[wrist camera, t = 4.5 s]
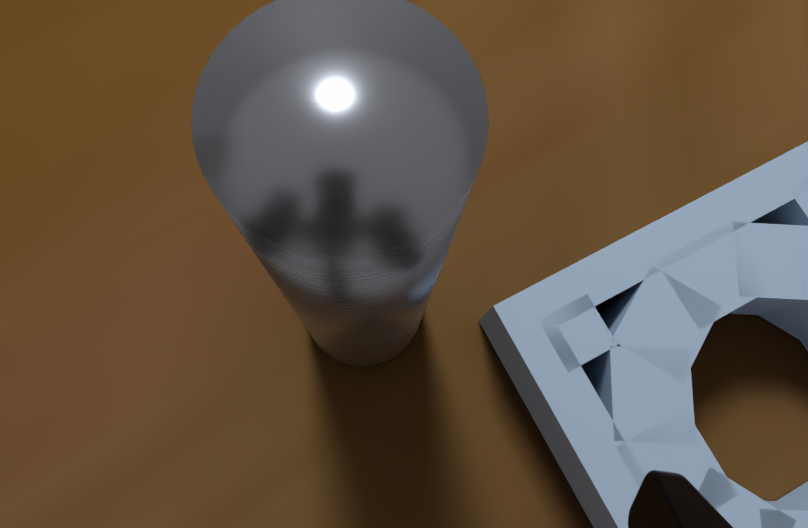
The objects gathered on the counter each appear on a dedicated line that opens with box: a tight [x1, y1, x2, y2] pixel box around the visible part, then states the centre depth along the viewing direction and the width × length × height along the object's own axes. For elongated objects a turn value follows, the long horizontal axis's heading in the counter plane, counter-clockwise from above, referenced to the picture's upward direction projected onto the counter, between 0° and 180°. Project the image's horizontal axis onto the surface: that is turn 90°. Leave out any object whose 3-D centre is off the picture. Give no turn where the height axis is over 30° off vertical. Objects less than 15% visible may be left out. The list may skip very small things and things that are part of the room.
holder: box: [479, 142, 808, 528], centre depth 18 cm, size 12×12×2 cm
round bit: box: [191, 0, 489, 366], centre depth 14 cm, size 4×4×12 cm
